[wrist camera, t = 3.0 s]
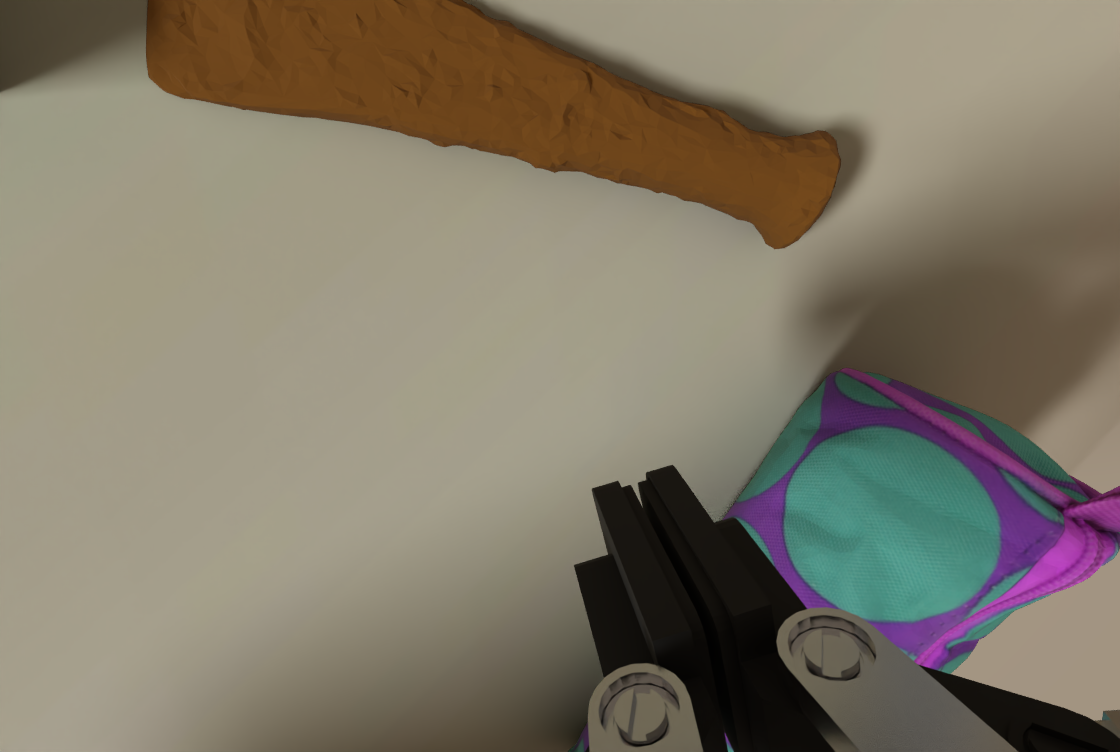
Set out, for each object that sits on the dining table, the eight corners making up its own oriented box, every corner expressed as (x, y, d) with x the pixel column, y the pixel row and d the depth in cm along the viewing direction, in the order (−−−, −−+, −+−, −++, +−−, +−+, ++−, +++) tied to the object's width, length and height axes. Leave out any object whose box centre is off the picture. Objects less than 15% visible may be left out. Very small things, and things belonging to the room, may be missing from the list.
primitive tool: (152, 90, 16) (73, 63, 12) (165, -146, 14) (79, -248, 11) (769, 251, 20) (832, 262, 17) (825, 83, 19) (904, 60, 15)
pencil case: (682, 784, 27) (793, 1079, 18) (516, 741, 25) (550, 1060, 16) (950, 412, 23) (1263, 556, 14) (784, 314, 21) (1039, 414, 12)
